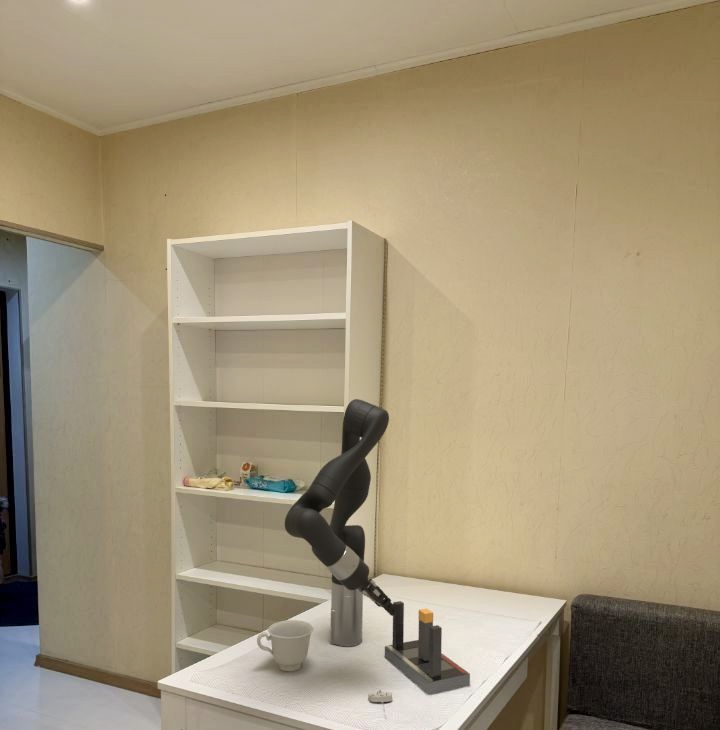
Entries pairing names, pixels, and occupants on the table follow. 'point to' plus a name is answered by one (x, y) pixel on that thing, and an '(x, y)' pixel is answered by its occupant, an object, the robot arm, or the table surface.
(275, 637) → the teacup
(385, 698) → the game controller
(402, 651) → the pillared base stand
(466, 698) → the table surface
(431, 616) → the lever
